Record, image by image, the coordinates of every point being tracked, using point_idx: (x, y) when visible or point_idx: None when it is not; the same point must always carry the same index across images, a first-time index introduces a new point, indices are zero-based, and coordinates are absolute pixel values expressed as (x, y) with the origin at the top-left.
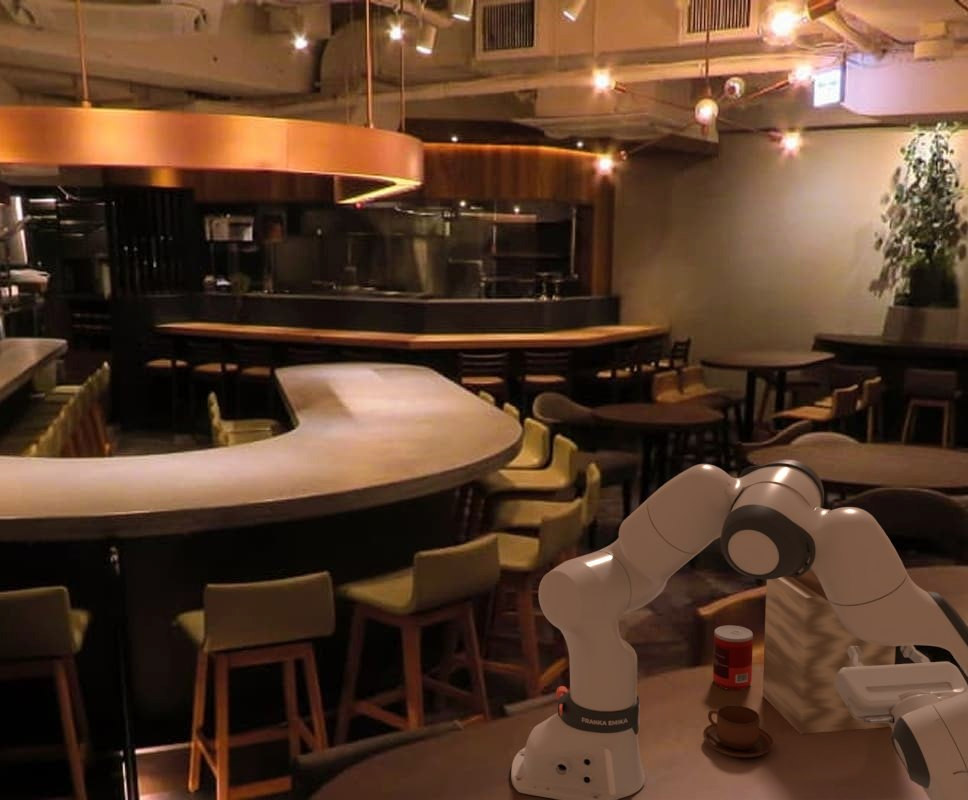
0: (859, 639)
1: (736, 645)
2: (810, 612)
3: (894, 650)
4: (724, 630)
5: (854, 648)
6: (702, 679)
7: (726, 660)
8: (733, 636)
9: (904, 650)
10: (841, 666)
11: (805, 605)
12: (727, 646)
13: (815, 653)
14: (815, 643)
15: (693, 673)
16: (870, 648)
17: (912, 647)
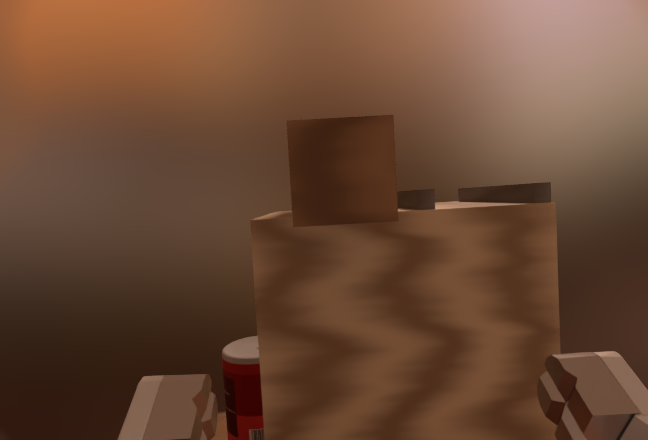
0: (439, 352)
1: (244, 371)
2: (269, 266)
3: None
4: (250, 343)
5: (156, 394)
6: (220, 432)
7: (232, 400)
8: (250, 353)
9: (565, 408)
10: (388, 436)
11: (252, 245)
12: (230, 373)
13: (299, 396)
14: (296, 364)
15: (219, 419)
16: (478, 380)
17: (627, 386)
